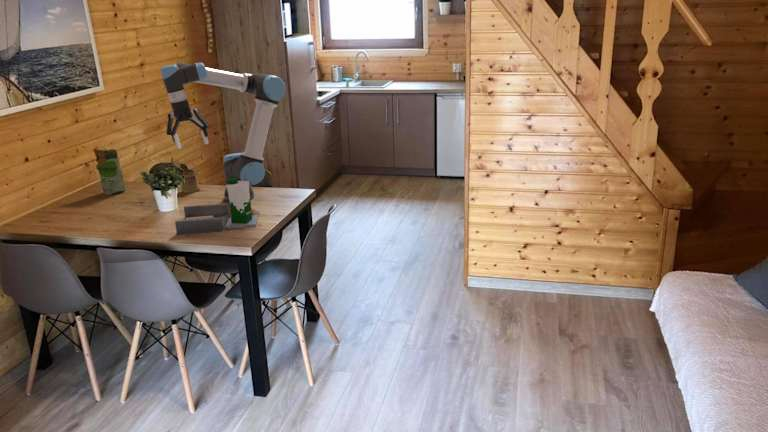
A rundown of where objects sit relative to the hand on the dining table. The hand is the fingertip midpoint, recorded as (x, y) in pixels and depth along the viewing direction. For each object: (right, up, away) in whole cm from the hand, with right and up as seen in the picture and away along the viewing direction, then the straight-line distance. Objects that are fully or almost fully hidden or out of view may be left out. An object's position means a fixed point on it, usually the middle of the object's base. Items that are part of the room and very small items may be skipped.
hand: (193, 146), depth 288 cm
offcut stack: (+5, -37, -4) cm, 38 cm away
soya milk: (+22, -34, +1) cm, 41 cm away
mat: (+22, -35, +2) cm, 41 cm away
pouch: (-60, -19, +56) cm, 84 cm away
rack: (+5, -36, +1) cm, 36 cm away
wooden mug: (-20, -18, +55) cm, 61 cm away
